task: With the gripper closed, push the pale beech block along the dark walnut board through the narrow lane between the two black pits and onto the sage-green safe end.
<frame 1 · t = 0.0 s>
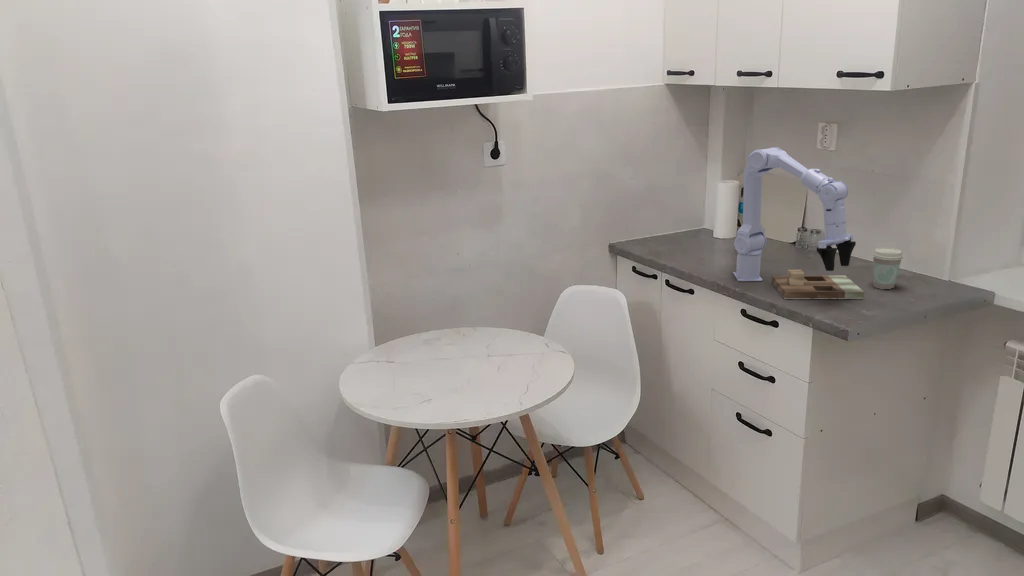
hand: (837, 268, 212), 11 cm above the worktop, tool pointing down, fingers open, 7 cm apart
coffee cup: (883, 287, 226), on the worktop
beech block: (795, 283, 225), point 2 cm above the worktop, touching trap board
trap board: (815, 291, 225), on the worktop
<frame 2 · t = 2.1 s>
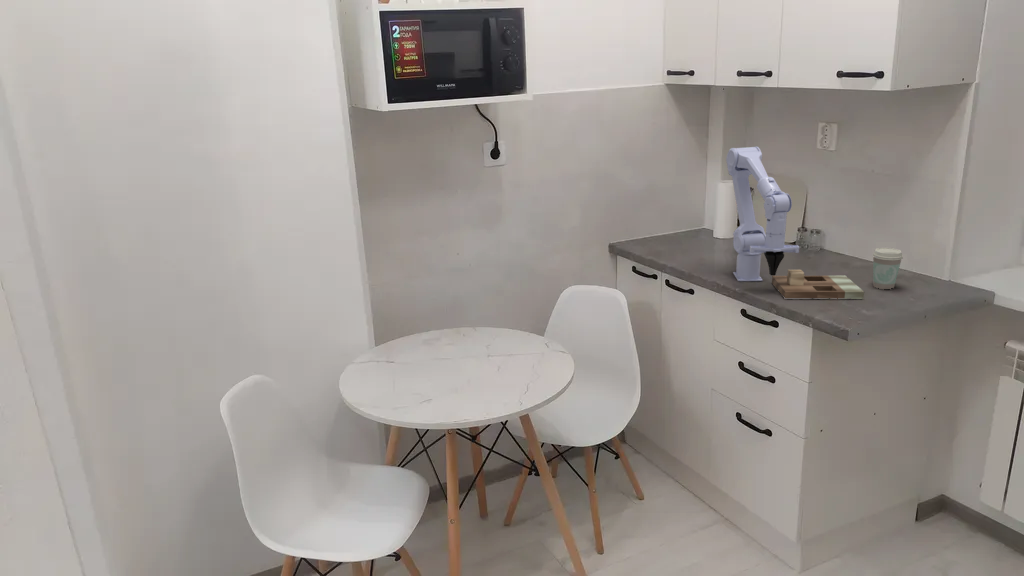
hand: (772, 274, 225), 6 cm above the worktop, tool pointing down, fingers closed
nothing on the worktop moved.
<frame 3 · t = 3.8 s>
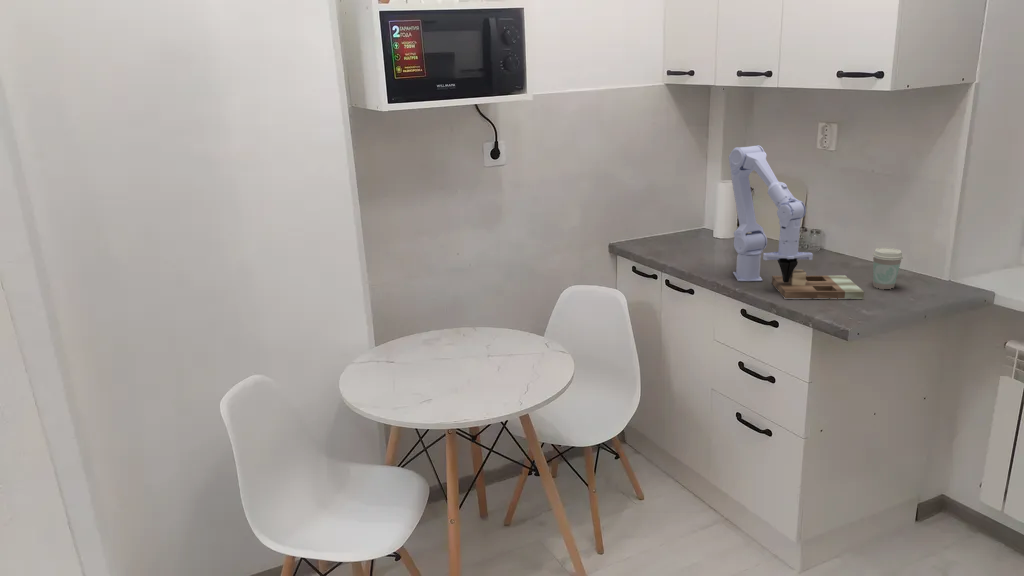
hand: (785, 281, 225), 3 cm above the worktop, tool pointing down, fingers closed
beech block: (796, 283, 225), point 3 cm above the worktop, touching gripper
everything else where it was.
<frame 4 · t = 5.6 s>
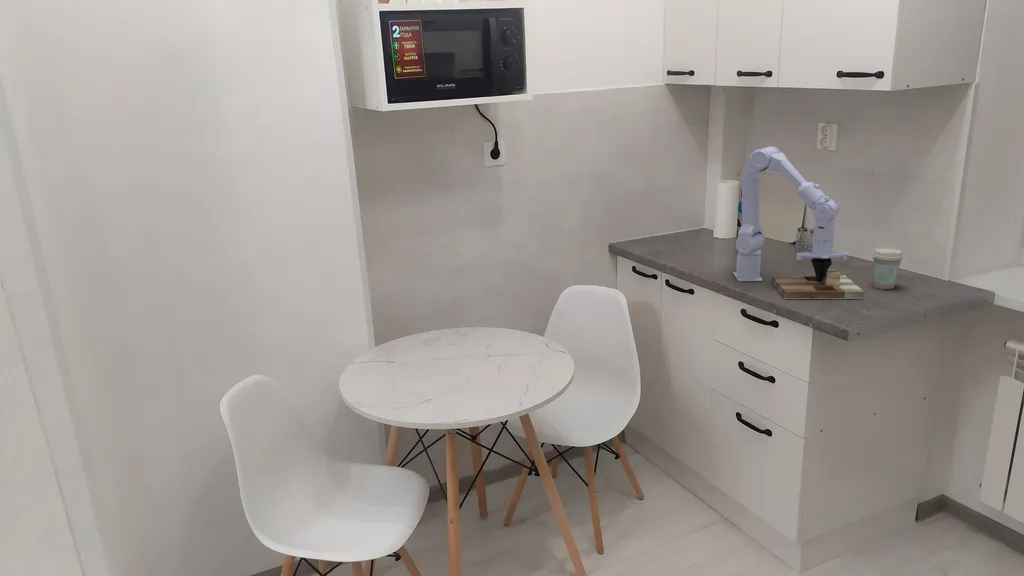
hand: (819, 281, 224), 3 cm above the worktop, tool pointing down, fingers closed
beech block: (830, 283, 224), point 3 cm above the worktop, touching gripper
everything else where it was.
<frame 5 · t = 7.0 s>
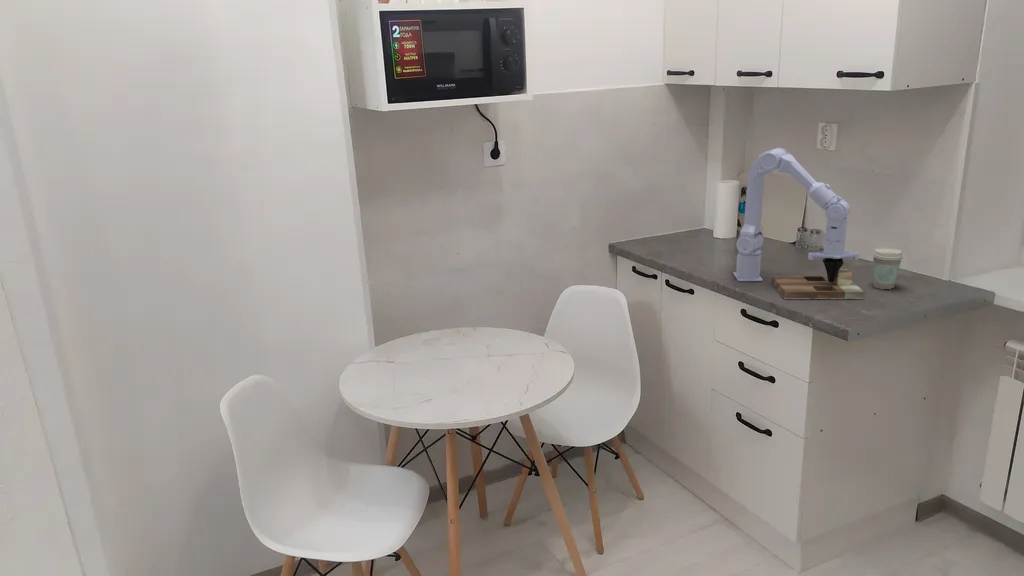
hand: (830, 281, 224), 3 cm above the worktop, tool pointing down, fingers closed
beech block: (841, 283, 224), point 2 cm above the worktop, touching gripper, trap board
everything else where it was.
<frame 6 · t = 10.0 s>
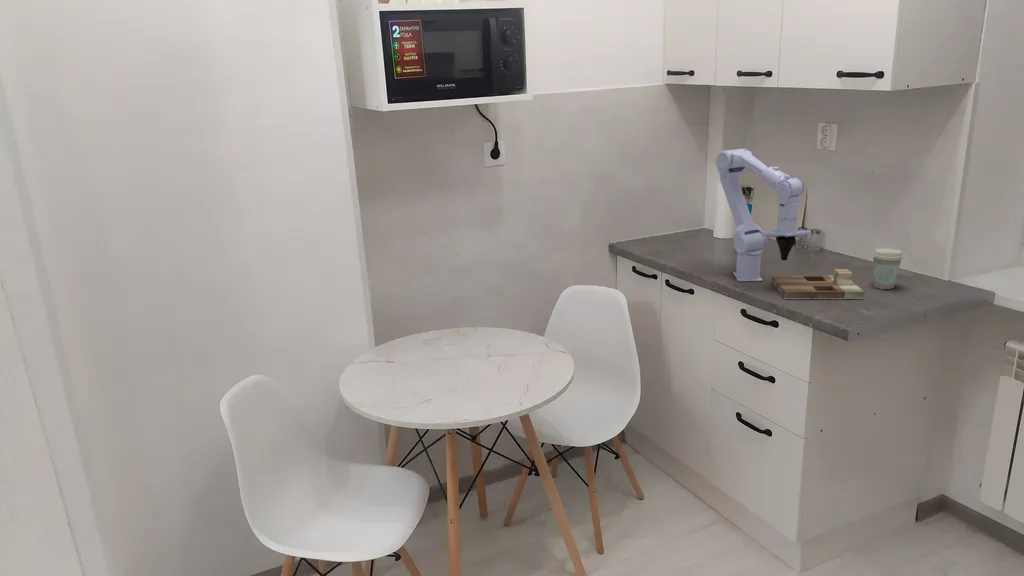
hand: (783, 259, 225), 10 cm above the worktop, tool pointing down, fingers closed
beech block: (841, 283, 224), point 2 cm above the worktop, touching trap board
everything else where it was.
at the end: beech block 1.2 cm from the target spot on the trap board, point 2.5 cm above the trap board's base; beech block tilted 0°; beech block moved 14.3 cm from its start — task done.
